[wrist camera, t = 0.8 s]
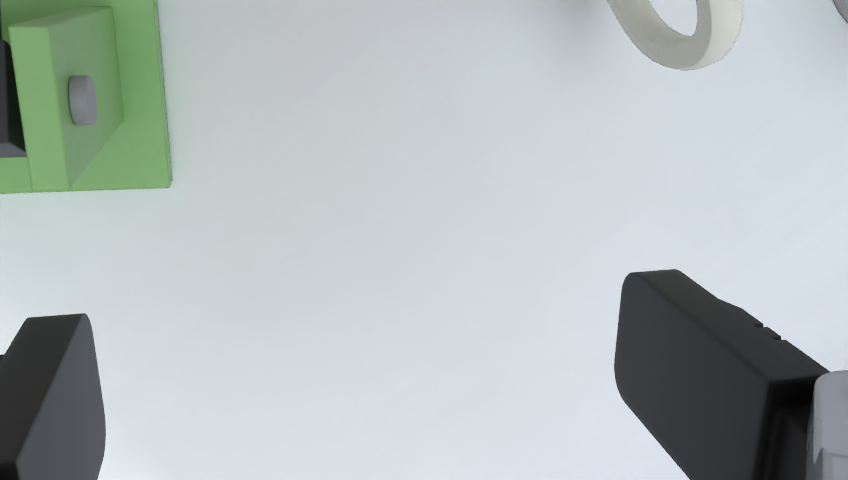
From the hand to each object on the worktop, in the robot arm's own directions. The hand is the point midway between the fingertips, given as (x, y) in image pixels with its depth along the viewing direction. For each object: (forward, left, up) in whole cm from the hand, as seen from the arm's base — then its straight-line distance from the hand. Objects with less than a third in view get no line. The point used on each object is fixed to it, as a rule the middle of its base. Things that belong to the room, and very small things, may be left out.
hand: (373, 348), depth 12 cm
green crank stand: (-2, -9, -24) cm, 25 cm away
